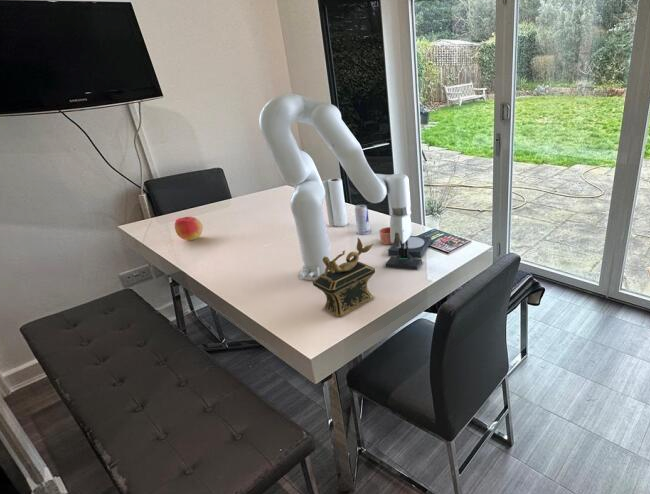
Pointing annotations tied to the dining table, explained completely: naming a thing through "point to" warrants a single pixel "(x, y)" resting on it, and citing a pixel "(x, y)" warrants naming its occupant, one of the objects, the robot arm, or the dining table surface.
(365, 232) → the energy drink
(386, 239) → the bowl
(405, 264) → the scale panel
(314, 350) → the dining table surface
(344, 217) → the paper towel roll
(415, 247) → the scale
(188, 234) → the apple
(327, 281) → the decorative box
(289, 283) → the dining table surface
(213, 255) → the dining table surface
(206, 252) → the dining table surface
